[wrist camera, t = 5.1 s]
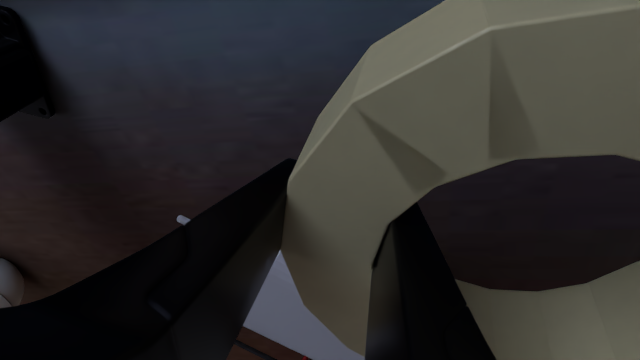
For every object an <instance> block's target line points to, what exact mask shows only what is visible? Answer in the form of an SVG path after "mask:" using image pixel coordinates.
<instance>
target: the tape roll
mask: <svg viewBox="0 0 640 360" xmlns="http://www.w3.org/2000/svg"><path fill="white" fill-rule="evenodd" d="M599 155H618V156H622V157H626V158H630V159H634V160H638V161H640V0H445V1H443V2H442V3H440V4H439V5H437V6H435V7H434V8H432V9H430V10H429V11H427V12H425V13H424V14H422V15H420V16H419V17H417V18H415V19H414V20H412V21H410V22H409V23H407V24H405V25H404V26H402V27H400V28H399V29H397V30H395V31H394V32H392V33H390V34H389V35H387V36H385V37H384V38H382V39H380V40H379V41H377V42H376V43H374V44H372V45H371V46H370V47H369V48H368V50H367V51H366V52H365V54H364V55H363V57H362V58H361V59H360V61H359V62H358V63H357V65H356V66H355V67H354V69H353V70H352V71H351V73H350V74H349V76H348V77H347V78H346V80H345V81H344V82H343V84H342V85H341V86H340V88H339V89H338V90H337V92H336V93H335V95H334V96H333V97H332V99H331V100H330V101H329V103H328V104H327V105H326V107H325V108H324V109H323V111H322V112H321V114H320V115H319V116H318V118H317V120H316V122H315V124H314V126H313V129H312V131H311V133H310V135H309V137H308V139H307V141H306V143H305V145H304V148H303V150H302V152H301V154H300V156H299V158H298V160H297V162H296V164H295V167H294V169H293V171H292V173H291V175H290V177H289V180H288V186H287V196H286V205H285V214H284V223H283V232H282V242H281V249H280V250H281V253H282V255H283V258H284V260H285V262H286V265H287V267H288V269H289V272H290V274H291V276H292V279H293V281H294V284H295V286H296V288H297V291H298V293H299V295H300V298H301V300H302V302H303V305H304V306H305V307H306V308H307V309H308V310H309V311H310V312H311V313H312V314H313V315H314V316H315V317H316V318H317V319H318V320H319V321H320V322H321V323H322V324H323V325H324V326H325V327H326V328H327V329H328V330H329V331H330V332H331V333H333V334H334V335H335V336H336V337H337V338H338V339H339V340H340V341H341V342H342V343H343V344H344V345H345V346H346V347H347V348H349V349H350V350H352V351H354V352H356V353H358V354H360V355H361V356H363V357H365V349H366V336H367V323H368V310H369V297H370V285H371V274H372V270H373V266H374V260H375V258H376V255H377V253H378V250H379V248H380V246H381V243H382V241H383V238H384V236H385V233H386V231H387V228H388V226H389V224H390V223H391V221H393V220H395V219H396V218H398V217H399V216H400V215H401V214H402V213H404V212H405V211H406V210H407V209H409V208H410V207H411V206H412V205H414V204H415V203H416V202H417V201H419V200H420V199H421V198H422V197H423V196H425V195H426V194H427V193H428V192H430V191H431V190H432V189H433V188H435V187H437V186H440V185H443V184H445V183H448V182H451V181H454V180H457V179H460V178H463V177H466V176H469V175H472V174H475V173H478V172H481V171H483V170H486V169H489V168H492V167H495V166H498V165H501V164H504V163H507V162H510V161H513V160H516V159H537V158H558V157H578V156H599ZM455 281H456V283H457V285H458V287H459V289H460V291H461V293H462V295H463V297H464V299H465V301H466V303H467V305H466V306H468V307H469V309H470V311H471V313H472V315H473V317H474V319H475V321H476V323H477V325H478V327H479V329H480V330H481V332H482V334H483V336H484V338H485V340H486V342H487V344H488V346H489V347H490V349H491V351H492V352H493V354H494V356H495V358H496V359H497V360H640V261H638V262H635V263H633V264H631V265H628V266H626V267H624V268H621V269H619V270H617V271H614V272H612V273H610V274H607V275H605V276H603V277H600V278H598V279H595V280H593V281H591V282H588V283H586V284H580V285H574V286H568V287H562V288H556V289H550V290H544V291H538V292H535V291H516V290H496V289H487V288H483V287H480V286H477V285H473V284H470V283H466V282H463V281H459V280H456V279H455Z"/></svg>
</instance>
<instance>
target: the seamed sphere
mask: <svg viewBox="0 0 640 360" xmlns="http://www.w3.org/2000/svg"><path fill="white" fill-rule="evenodd" d="M23 293H24V280H23V277H22V275H21V273H20V272H19V270H18V269H17V268H16V266H15V265H13V264H12V263H11V262H9V261H7V260H5V259H2V258H0V308H5V307H12V306H19V304H20V303H21V300H22V296H23Z"/></svg>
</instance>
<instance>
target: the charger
mask: <svg viewBox="0 0 640 360" xmlns="http://www.w3.org/2000/svg"><path fill="white" fill-rule="evenodd" d="M177 221H178V222H180V223H182V224H184V225H185V223H187V222H188V221H190V219H188V218H186V217H184V216H182V215H179V216H178V217H177ZM243 326H244V327H246V328H249V329H251V330H253V331H255V332H257V333H259V334H261V335H263V336H265V337H267V338H269V339H271V340H273V341H275V342H278V343H280V344H282V345H284V346H286V347H288V348H290V349H292V350H294V351H296V352H298V353H300V354H302V355H304V356H306V357H309V358H311V359H313V360H365V357H363V356H361V355H360V354H358V353H356V352H354V351H352V350H350V349H349V348H347V347H346V346H345V345H344V344H343V343H342V342H341V341H340V340H339V339H338V338H337V337H336V336H335V335H334V334H333V333H331V332H330V331H329V330H328V329H327V328H326V327H325V326H324V325H323V324H322V323H321V322H320V321H319V320H318V319H317V318H316V317H315V316H314V315H313V314H312V313H311V312H310V311H309V310H308V309H307V308H306V307H305V306H304V305H303V302H302V300H301V298H300V295H299V293H298V291H297V288H296V286H295V284H294V281H293V279H292V276H291V274H290V272H289V269H288V267H287V265H286V262H285V260H284V258H283V255H282V253H281V250H280V251H279V253H278V255H277V257H276V259H275V261H274V263H273V265H272V267H271V269H270V271H269V273H268V275H267V277H266V279H265V281H264V283H263V285H262V287H261V290H260V292H259V294H258V296H257V298H256V300H255V302H254V304H253V306H252V308H251V310H250V312H249V314H248V316H247V318H246V320H245V322H244V324H243Z"/></svg>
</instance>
